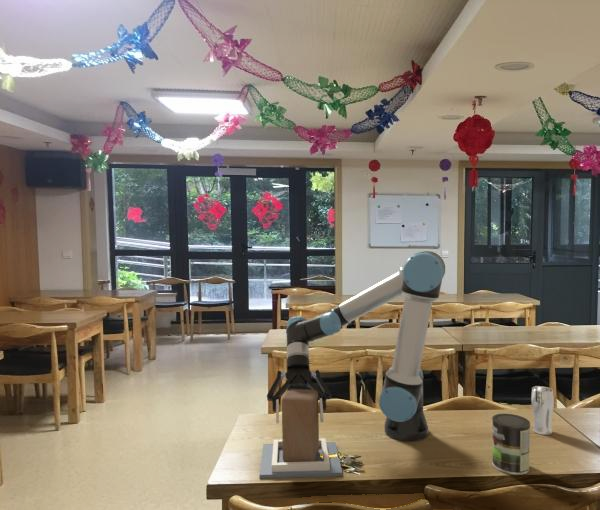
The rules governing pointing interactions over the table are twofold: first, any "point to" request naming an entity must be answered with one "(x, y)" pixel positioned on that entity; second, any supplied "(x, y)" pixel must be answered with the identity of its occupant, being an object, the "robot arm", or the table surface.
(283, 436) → the block
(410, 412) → the robot arm
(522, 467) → the coffee can
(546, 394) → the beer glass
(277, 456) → the grey square frame tray
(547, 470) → the table surface
